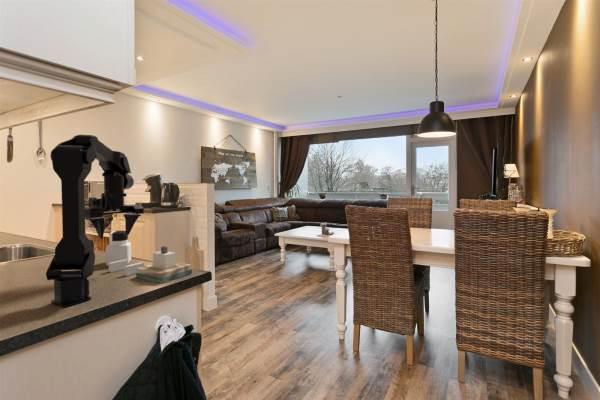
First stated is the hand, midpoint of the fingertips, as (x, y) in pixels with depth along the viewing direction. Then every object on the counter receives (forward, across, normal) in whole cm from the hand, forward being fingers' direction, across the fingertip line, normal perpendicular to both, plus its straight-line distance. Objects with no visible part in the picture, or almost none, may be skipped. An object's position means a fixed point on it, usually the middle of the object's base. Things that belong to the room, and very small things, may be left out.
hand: (114, 236), depth 109 cm
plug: (+10, -5, +18) cm, 21 cm away
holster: (+12, -2, +3) cm, 13 cm away
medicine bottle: (+12, -8, -10) cm, 18 cm away
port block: (+12, -6, +18) cm, 22 cm away
